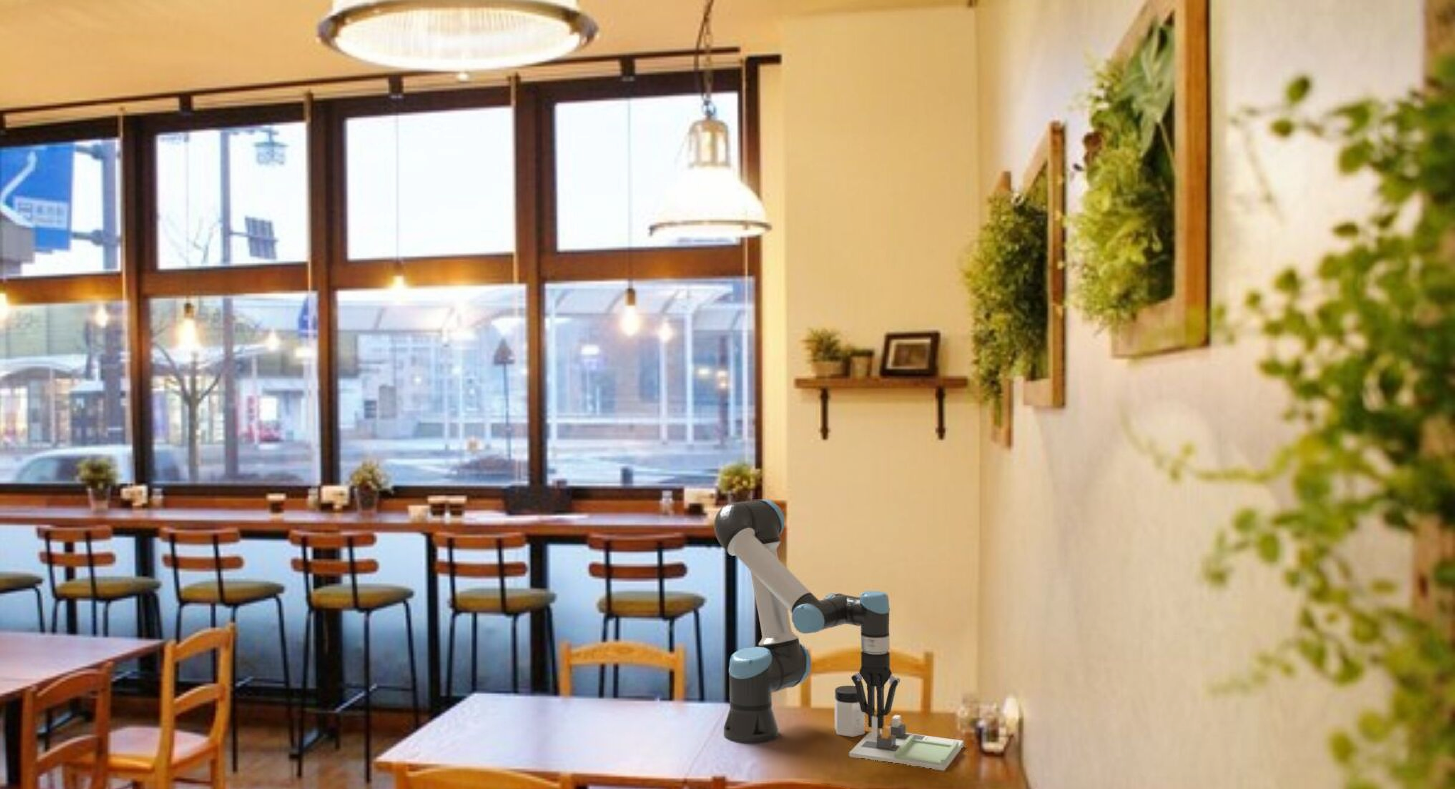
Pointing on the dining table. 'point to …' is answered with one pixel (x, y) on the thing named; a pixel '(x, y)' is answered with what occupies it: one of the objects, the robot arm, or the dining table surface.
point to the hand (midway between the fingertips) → (876, 739)
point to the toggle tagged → (886, 739)
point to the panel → (911, 750)
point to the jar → (848, 712)
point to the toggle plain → (897, 727)
